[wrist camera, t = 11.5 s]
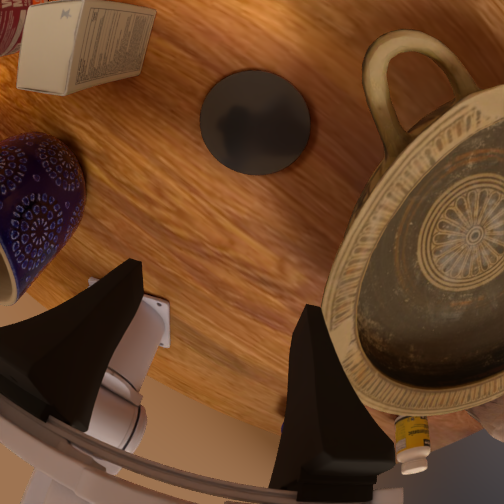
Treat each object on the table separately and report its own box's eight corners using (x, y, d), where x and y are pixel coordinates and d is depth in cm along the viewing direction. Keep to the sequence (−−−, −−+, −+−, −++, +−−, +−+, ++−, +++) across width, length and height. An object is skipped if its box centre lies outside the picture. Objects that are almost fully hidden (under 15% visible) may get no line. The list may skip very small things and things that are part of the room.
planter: (55, 239, 27) (-10, 312, 18) (6, 153, 22) (-74, 210, 13) (123, 207, 23) (41, 299, 15) (65, 95, 18) (-49, 145, 9)
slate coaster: (196, 161, 20) (193, 163, 20) (210, 62, 16) (208, 62, 16) (295, 183, 20) (295, 186, 20) (322, 84, 16) (322, 85, 16)
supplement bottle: (432, 409, 36) (439, 464, 29) (413, 423, 40) (416, 474, 32) (407, 408, 36) (411, 467, 29) (388, 422, 40) (389, 476, 32)
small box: (107, 6, 14) (26, 3, 7) (159, 9, 14) (84, -4, 8) (93, 69, 17) (13, 90, 10) (141, 77, 17) (64, 98, 11)
